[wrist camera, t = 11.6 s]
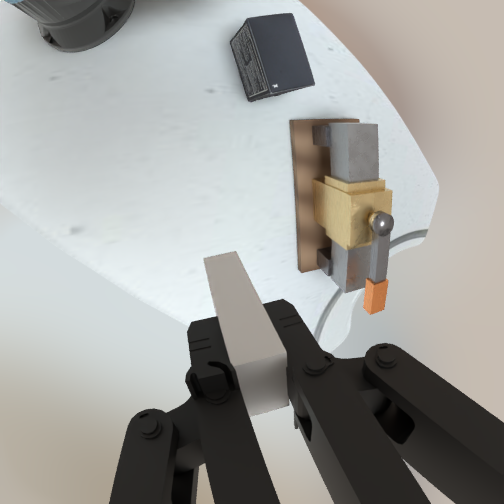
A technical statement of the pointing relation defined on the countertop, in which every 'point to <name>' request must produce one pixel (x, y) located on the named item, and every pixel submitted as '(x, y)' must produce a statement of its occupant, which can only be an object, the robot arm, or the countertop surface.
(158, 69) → the countertop surface
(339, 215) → the valve
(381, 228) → the valve lever
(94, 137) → the countertop surface
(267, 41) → the small box
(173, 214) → the countertop surface
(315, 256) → the base board
